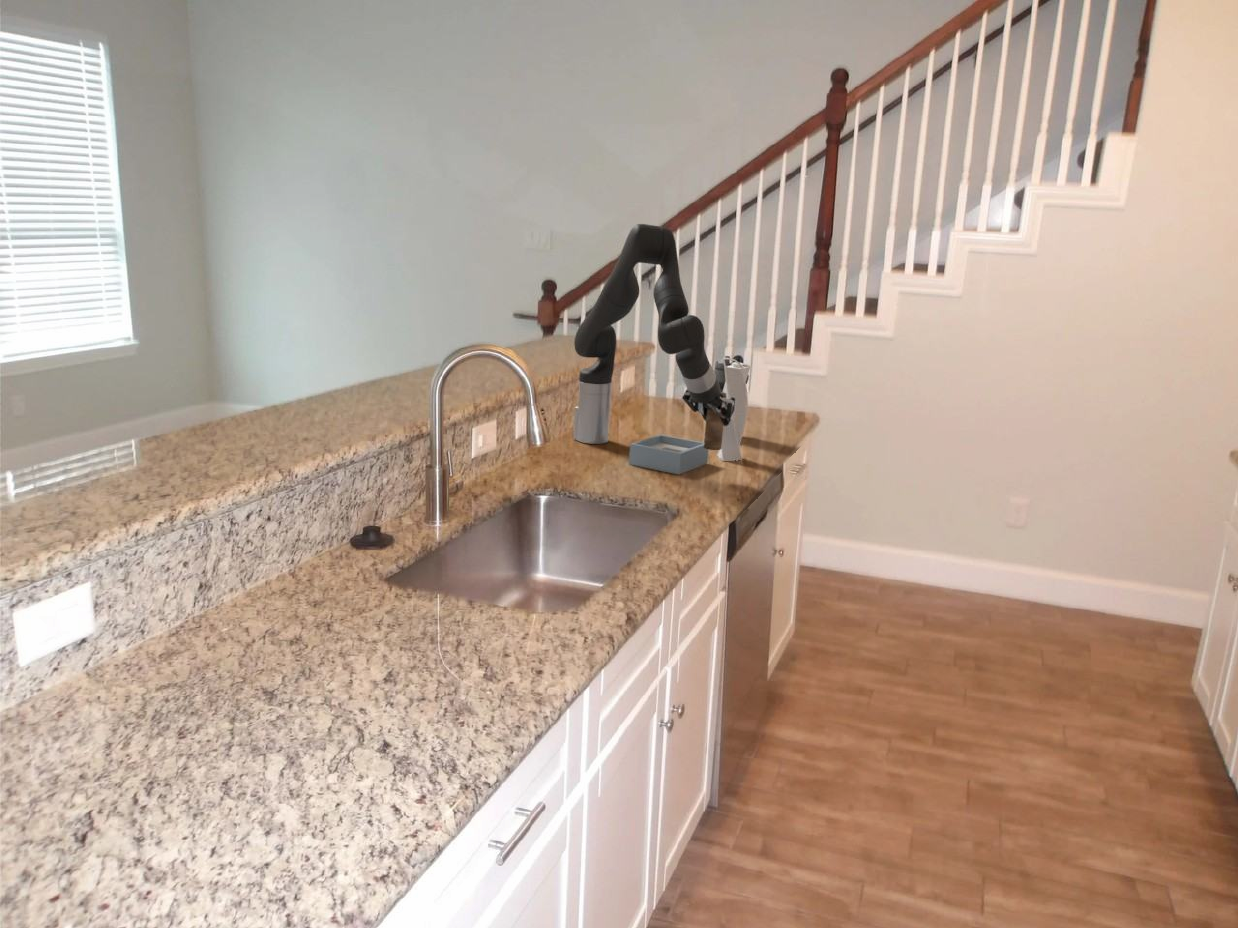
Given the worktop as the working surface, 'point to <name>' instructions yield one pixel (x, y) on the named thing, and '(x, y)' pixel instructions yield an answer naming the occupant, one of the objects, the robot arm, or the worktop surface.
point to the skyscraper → (735, 410)
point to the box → (668, 454)
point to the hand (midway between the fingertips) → (718, 421)
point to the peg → (713, 430)
